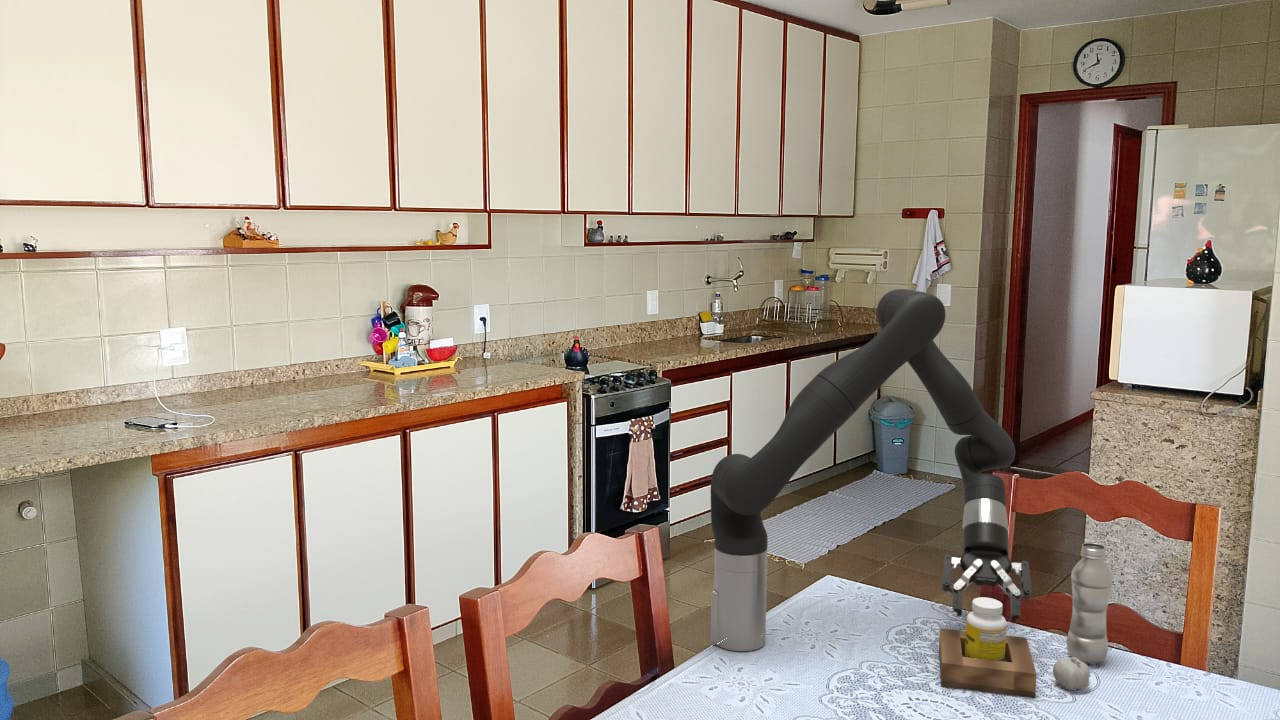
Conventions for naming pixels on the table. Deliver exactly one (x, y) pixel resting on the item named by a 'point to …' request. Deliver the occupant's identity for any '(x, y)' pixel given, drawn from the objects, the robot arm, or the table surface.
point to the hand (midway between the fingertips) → (986, 617)
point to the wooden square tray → (987, 667)
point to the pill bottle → (986, 630)
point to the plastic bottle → (1089, 605)
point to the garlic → (1071, 673)
